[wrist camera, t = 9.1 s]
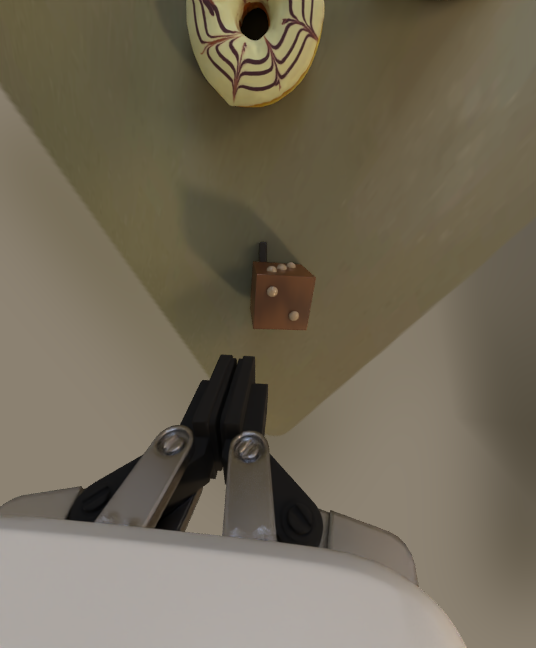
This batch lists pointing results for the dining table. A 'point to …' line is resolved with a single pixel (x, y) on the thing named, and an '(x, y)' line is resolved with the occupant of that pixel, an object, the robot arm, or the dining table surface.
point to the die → (281, 296)
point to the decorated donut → (254, 47)
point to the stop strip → (263, 251)
